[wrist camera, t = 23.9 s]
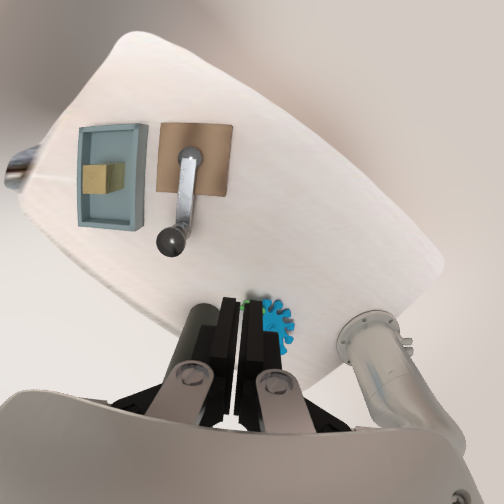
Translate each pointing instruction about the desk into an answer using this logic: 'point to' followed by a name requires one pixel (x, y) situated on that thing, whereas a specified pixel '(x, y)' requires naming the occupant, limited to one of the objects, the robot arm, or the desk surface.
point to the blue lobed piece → (276, 322)
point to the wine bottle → (192, 333)
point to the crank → (182, 205)
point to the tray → (132, 196)
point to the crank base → (210, 145)
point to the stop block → (103, 178)
